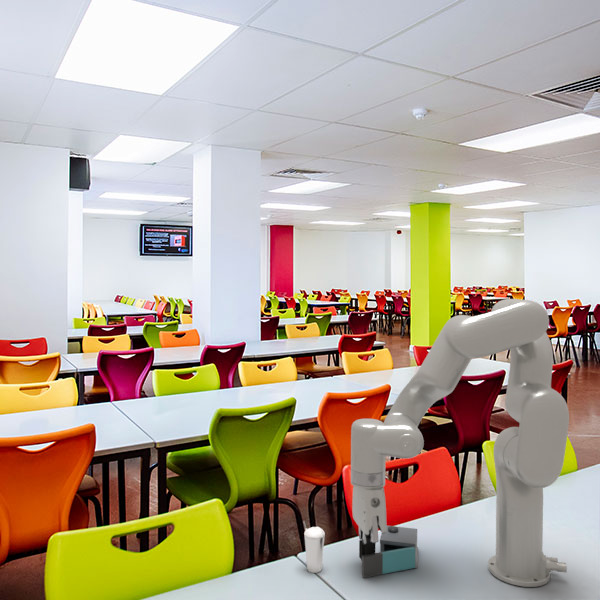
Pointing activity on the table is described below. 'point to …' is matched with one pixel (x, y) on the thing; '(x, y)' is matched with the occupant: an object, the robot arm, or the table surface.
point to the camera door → (389, 561)
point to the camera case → (398, 538)
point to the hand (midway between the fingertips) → (367, 558)
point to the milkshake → (314, 548)
